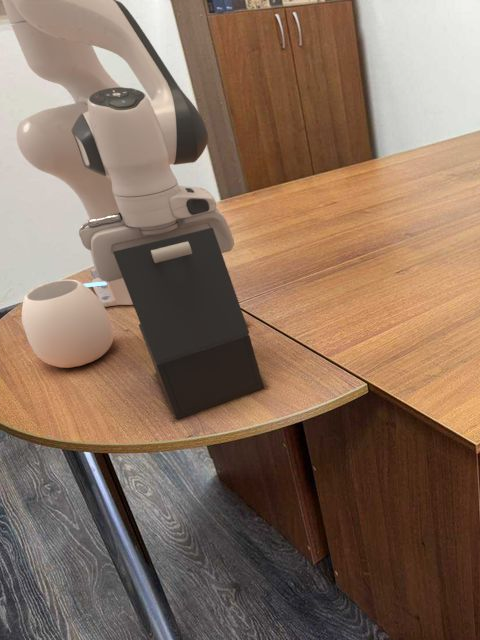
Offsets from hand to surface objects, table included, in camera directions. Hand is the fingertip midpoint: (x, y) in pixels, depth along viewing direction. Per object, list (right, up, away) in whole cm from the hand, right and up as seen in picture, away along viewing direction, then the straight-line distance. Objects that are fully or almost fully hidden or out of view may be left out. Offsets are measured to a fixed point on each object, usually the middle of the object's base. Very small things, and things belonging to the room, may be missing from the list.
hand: (177, 289), depth 104 cm
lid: (+4, -1, -8) cm, 9 cm away
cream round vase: (-24, -11, +15) cm, 30 cm away
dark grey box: (+3, -15, +5) cm, 16 cm away
